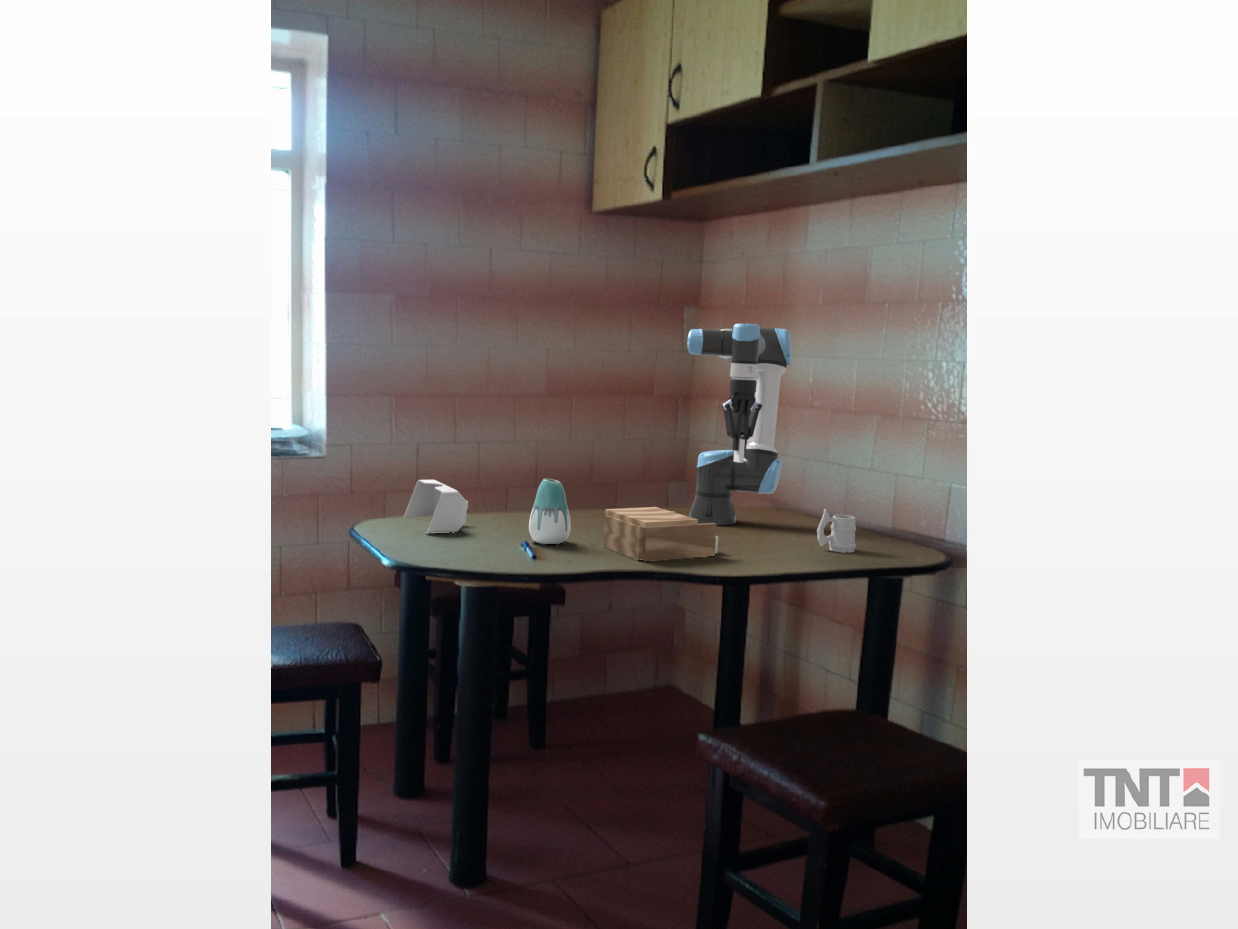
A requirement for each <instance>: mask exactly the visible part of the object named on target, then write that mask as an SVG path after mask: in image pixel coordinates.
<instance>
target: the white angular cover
mask: <svg viewBox="0 0 1238 929" xmlns="http://www.w3.org/2000/svg"><path fill="white" fill-rule="evenodd" d="M415 483H416V484H415V486H414V488H413V492H412V494H411V496H410V499H409V502H408V504H407V507H406V510H405V512H404V514H403V518H404V517H414V518H415V517H428V516H433V518H432V520H431V523H430V526H429V528H428V531H427V533H431V532H457V533H458V531H460V529H461V528H462V527H463V526H464V524H465V523H466V522H467V510H468V509H469V502H468V500H466V498H464V497H463V495H461V493H460V492H459V491H458V490H457V489H455V488H452V487H451V486H448V485H447V484H445V483H442V482H440V481H438V480H436V479H418V480H417V481H416V482H415Z"/></svg>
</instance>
